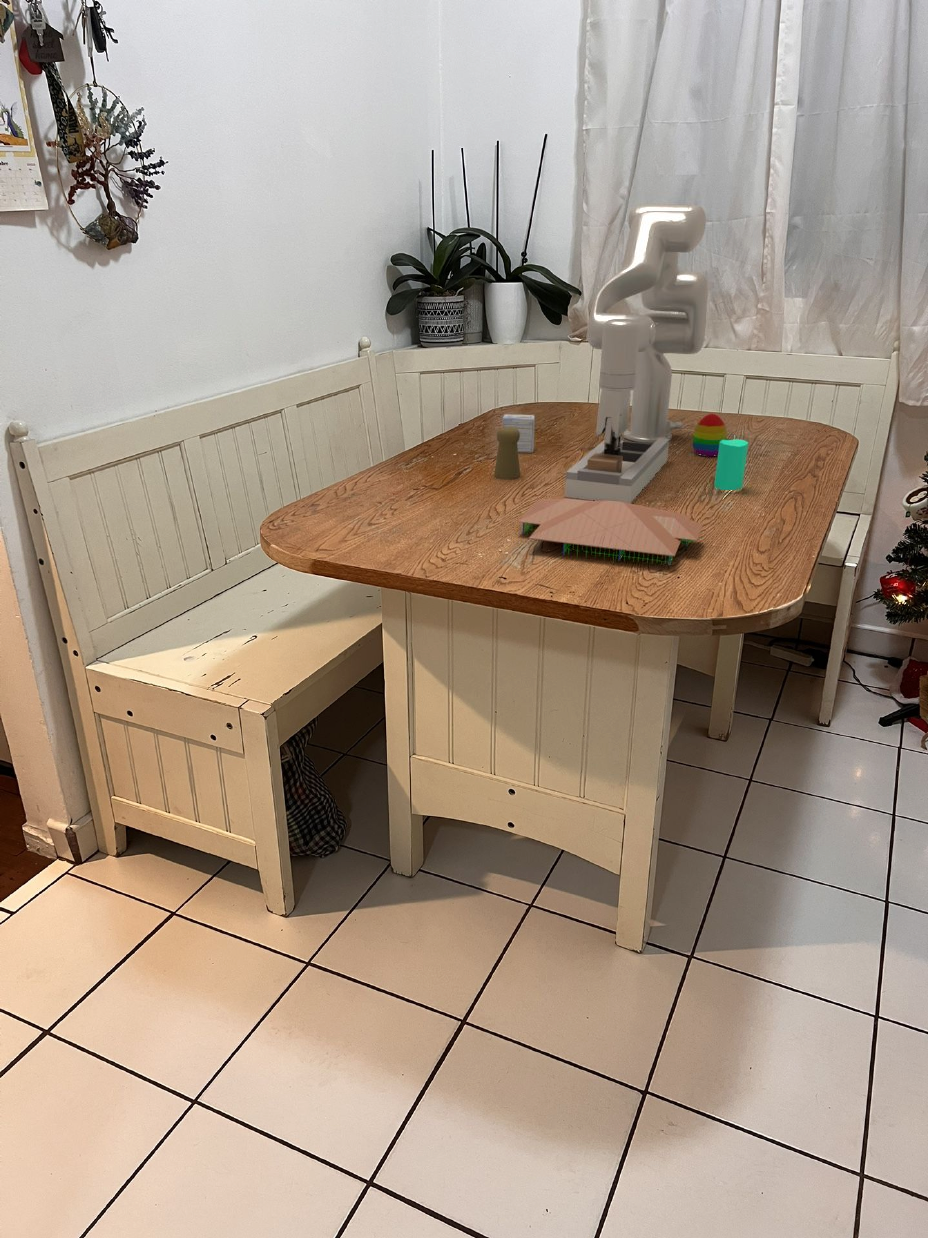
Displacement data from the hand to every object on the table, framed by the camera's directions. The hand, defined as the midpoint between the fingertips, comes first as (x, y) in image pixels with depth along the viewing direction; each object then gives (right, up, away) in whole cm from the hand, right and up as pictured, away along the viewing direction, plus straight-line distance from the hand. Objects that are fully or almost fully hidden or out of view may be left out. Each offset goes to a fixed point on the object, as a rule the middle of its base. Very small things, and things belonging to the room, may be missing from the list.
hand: (611, 466), depth 201 cm
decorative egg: (+29, +8, +29) cm, 42 cm away
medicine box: (-18, +9, +32) cm, 38 cm away
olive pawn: (-22, -1, +11) cm, 25 cm away
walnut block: (-2, -3, -4) cm, 5 cm away
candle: (+26, -5, +2) cm, 26 cm away
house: (-5, -19, -29) cm, 35 cm away
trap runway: (+3, -1, +9) cm, 10 cm away
